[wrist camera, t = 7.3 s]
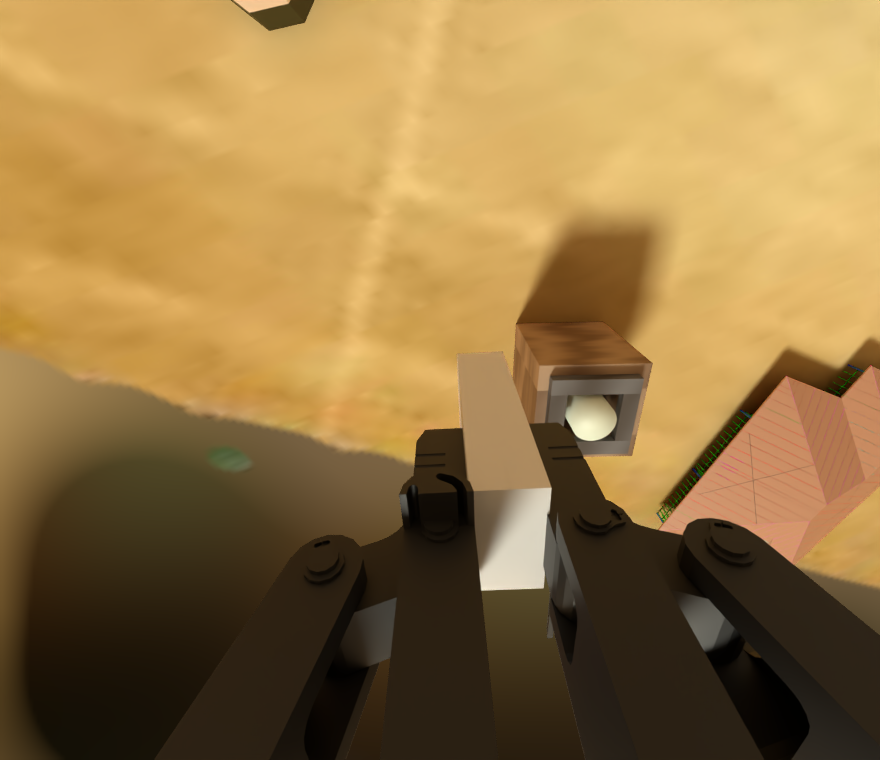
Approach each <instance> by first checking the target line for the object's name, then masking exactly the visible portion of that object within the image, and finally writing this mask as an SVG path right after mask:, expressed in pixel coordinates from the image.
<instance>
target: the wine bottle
mask: <svg viewBox="0 0 880 760" xmlns="http://www.w3.org/2000/svg"><path fill="white" fill-rule="evenodd" d="M231 1H232V2H234V3H235V4H236V5H237V6H238V7H240V8H241V9H242V10H244V11H245V12H246V13H247V14H249V15H250V16H251V17H252V18H254V19H255V20H256V21H258V22H259V23H260V24H261V25H263V26H264V27H265V28H266V29H268V30H269V31H271V30H275V29H279V28H284V27H288V26H292V25H297V24H301V23H305V21H306V19H307V16H308V14H309V12H310V9H311V7H312V5H313V2H314V0H231Z"/></svg>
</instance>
